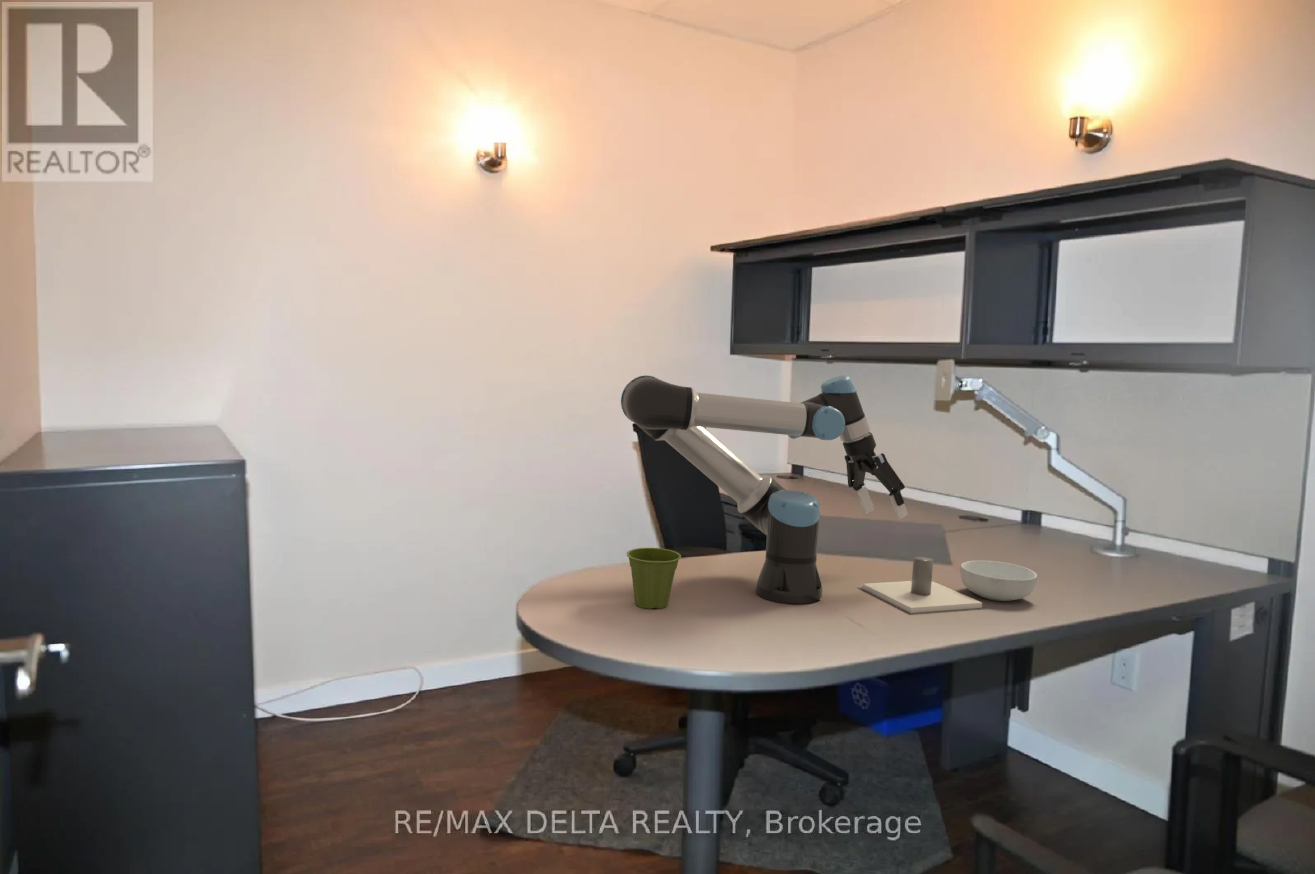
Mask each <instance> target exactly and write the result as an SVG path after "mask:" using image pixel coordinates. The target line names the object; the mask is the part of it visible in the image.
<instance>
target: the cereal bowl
mask: <svg viewBox="0 0 1315 874" xmlns="http://www.w3.org/2000/svg"><path fill="white" fill-rule="evenodd" d="M959 571H960V572H959V573H960V578H961V582H962V583H963V585H964V586H965V587H966V589H968V590H969V591H970V592H972V593H973V594H976V595H977V596H979V597H981V598H983V599H987V600H992V601H998V602H1012V601H1015V600H1016V601H1017V600H1021V599H1024V598H1026V597H1028V596H1029V595H1031V594H1032V593H1033V592H1034V590H1035V588H1036V586H1037V580H1038V575H1037V573H1036V572H1034V571H1033V570H1032V569H1029V568H1027V567H1025V566H1023V565H1022V566H1021V565H1019V564H1014V563H1010V562H1003V561H997V560H968V561H964V562H963V563H961V564H960V570H959Z"/></svg>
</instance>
